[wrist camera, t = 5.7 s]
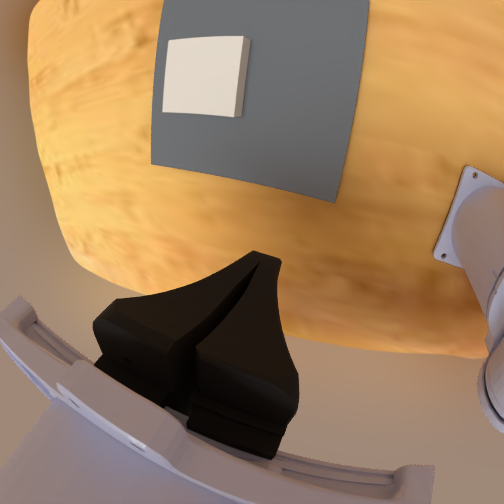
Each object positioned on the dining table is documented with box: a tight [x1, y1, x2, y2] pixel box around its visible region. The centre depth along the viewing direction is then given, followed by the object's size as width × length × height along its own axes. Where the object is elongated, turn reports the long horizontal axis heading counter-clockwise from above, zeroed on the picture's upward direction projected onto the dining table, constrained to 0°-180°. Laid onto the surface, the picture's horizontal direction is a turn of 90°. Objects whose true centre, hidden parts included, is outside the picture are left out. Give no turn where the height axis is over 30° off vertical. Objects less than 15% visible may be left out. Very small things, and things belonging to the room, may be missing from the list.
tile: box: [162, 36, 251, 117], centre depth 17 cm, size 2×6×6 cm
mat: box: [151, 0, 369, 203], centre depth 17 cm, size 16×16×1 cm
